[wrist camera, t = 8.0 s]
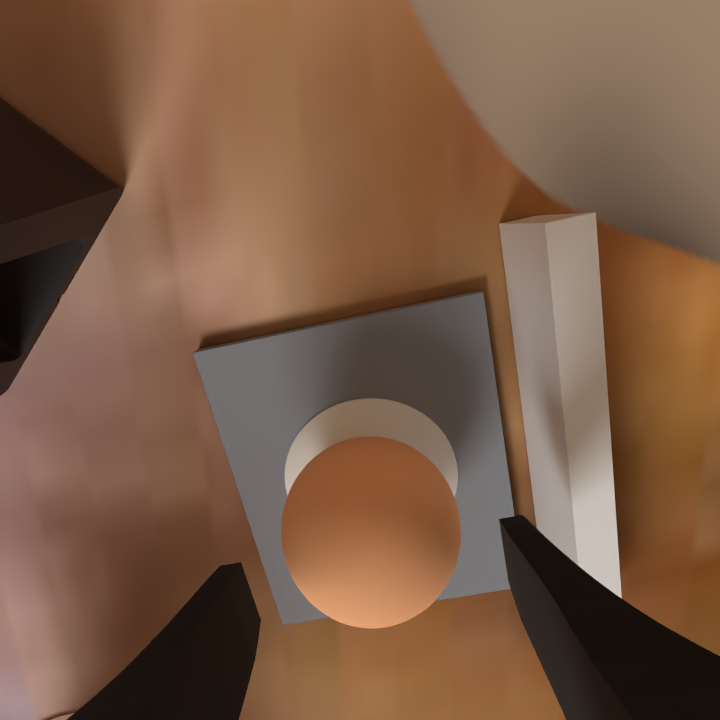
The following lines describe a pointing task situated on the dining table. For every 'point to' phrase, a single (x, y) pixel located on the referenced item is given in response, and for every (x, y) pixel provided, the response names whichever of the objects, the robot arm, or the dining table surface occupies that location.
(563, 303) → the fence
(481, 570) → the mat
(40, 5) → the dining table surface
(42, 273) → the phone stand
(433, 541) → the ball
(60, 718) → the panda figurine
